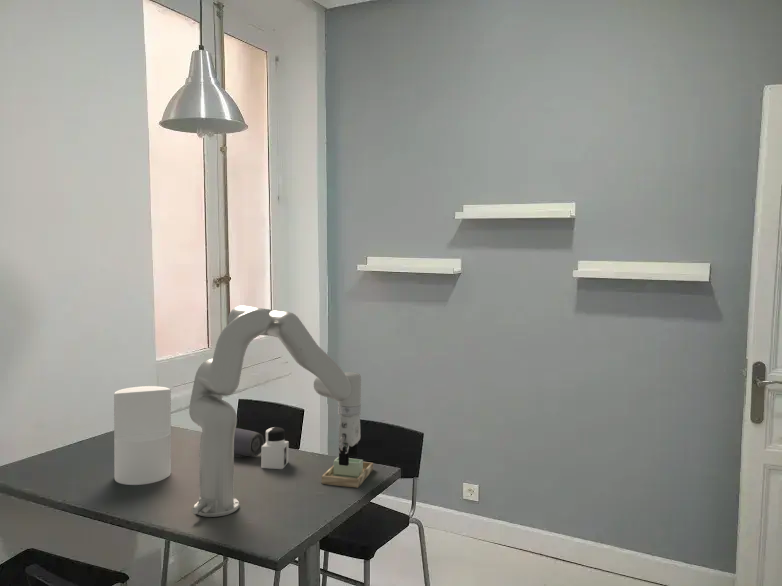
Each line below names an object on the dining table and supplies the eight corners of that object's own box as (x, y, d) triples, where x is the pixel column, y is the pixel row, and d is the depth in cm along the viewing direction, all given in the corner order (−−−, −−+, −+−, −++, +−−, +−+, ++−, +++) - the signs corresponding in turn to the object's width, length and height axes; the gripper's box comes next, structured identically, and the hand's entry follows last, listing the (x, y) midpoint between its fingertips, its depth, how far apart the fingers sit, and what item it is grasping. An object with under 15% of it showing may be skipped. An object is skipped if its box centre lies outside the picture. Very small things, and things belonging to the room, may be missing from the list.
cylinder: (113, 470, 204) (112, 388, 203) (167, 463, 212) (167, 384, 211) (116, 488, 189) (115, 399, 188) (174, 480, 197) (174, 394, 196)
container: (288, 462, 216) (289, 426, 216) (282, 469, 209) (283, 432, 208) (267, 461, 217) (267, 425, 217) (260, 468, 210) (261, 431, 209)
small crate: (359, 478, 200) (359, 463, 200) (333, 475, 202) (333, 460, 202) (362, 474, 204) (363, 459, 204) (337, 471, 206) (337, 457, 206)
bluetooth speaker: (199, 453, 224) (199, 426, 224) (216, 446, 233) (216, 421, 232) (248, 463, 215) (249, 435, 214) (264, 455, 223) (265, 429, 223)
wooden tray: (358, 487, 193) (358, 480, 193) (321, 483, 196) (321, 476, 196) (373, 469, 210) (373, 462, 210) (339, 466, 213) (339, 459, 213)
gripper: (352, 417, 193) (351, 470, 194) (367, 404, 209) (366, 453, 210) (329, 415, 195) (328, 467, 195) (346, 403, 211) (346, 451, 212)
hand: (348, 460), depth 203 cm, fingers open, 9 cm apart
